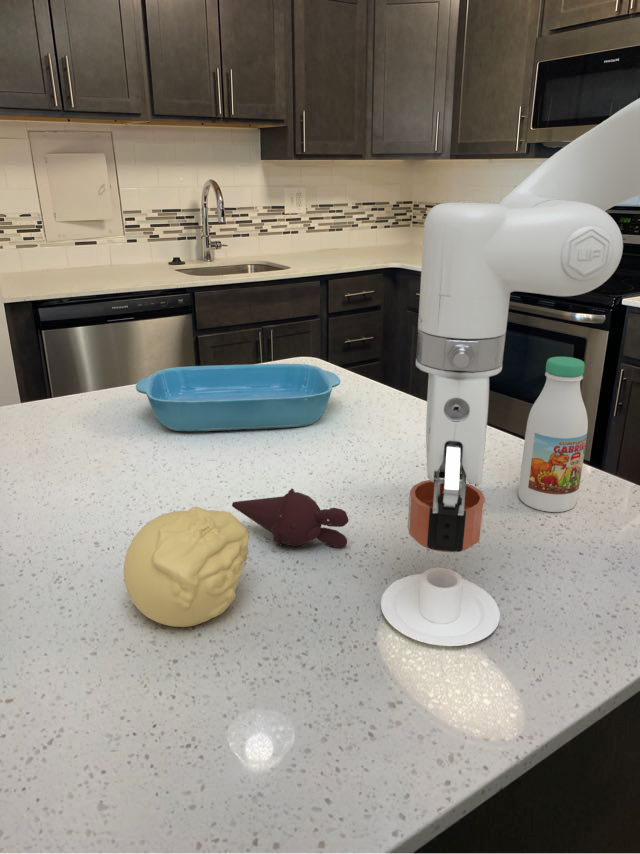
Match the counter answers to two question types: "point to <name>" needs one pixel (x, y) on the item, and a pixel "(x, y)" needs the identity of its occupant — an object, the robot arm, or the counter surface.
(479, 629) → the candle holder
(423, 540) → the bowl
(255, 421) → the casserole dish
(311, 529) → the icecream
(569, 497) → the milk bottle
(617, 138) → the robot arm
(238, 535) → the sculpture
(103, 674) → the counter surface
